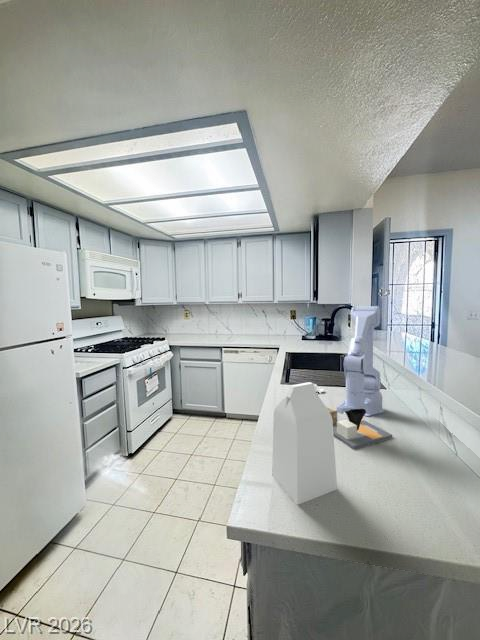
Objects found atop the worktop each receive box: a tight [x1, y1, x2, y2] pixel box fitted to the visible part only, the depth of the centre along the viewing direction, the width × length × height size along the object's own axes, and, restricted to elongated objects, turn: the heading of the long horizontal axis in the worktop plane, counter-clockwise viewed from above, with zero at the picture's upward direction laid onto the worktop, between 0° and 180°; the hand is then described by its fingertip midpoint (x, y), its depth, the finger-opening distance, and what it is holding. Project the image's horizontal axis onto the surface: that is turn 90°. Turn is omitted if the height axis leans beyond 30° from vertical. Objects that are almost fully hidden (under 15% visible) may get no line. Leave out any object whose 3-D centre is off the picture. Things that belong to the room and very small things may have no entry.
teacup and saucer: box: [313, 383, 325, 393], centre depth 135 cm, size 9×8×4 cm
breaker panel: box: [333, 419, 393, 450], centre depth 92 cm, size 17×12×1 cm
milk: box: [271, 381, 338, 506], centre depth 69 cm, size 12×12×26 cm
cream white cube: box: [336, 419, 357, 440], centre depth 90 cm, size 4×5×4 cm
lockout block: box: [326, 406, 338, 425], centre depth 102 cm, size 4×4×5 cm
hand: (354, 429), depth 91 cm, fingers closed
